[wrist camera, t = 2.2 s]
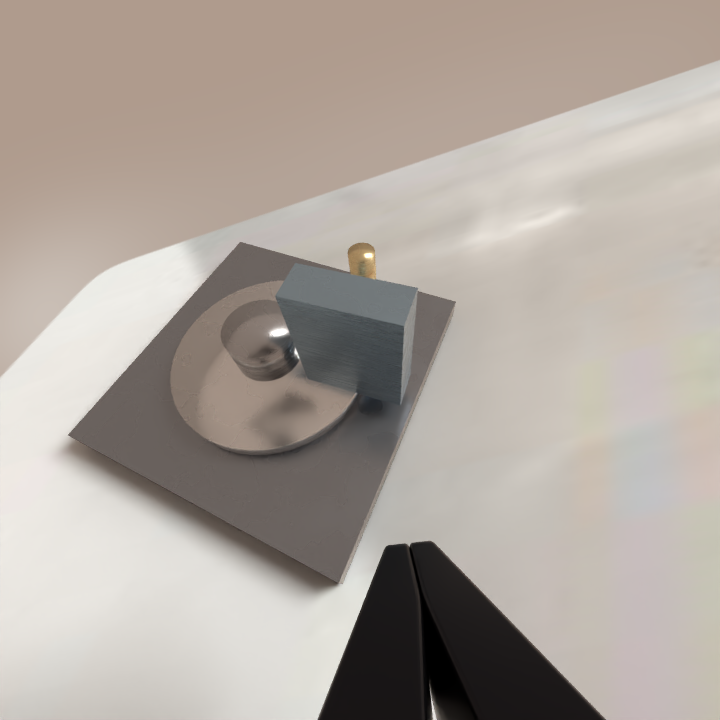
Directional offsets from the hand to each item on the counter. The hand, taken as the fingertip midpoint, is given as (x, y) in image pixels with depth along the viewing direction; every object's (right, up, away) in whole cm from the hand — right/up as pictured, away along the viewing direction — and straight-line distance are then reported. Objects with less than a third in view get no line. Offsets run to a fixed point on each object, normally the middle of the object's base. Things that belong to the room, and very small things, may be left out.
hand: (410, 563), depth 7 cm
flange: (-5, +3, +16) cm, 17 cm away
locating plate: (-6, +3, +18) cm, 19 cm away
